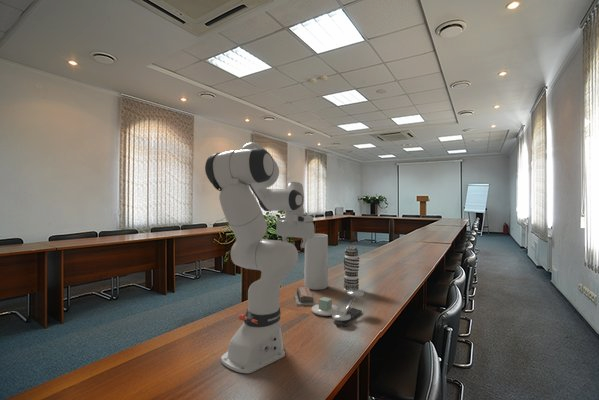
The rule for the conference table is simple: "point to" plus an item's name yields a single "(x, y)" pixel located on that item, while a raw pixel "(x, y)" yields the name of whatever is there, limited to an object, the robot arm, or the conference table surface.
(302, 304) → the packaged product
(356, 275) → the decorative candle
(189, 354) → the conference table surface
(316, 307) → the dish
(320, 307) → the block
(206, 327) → the conference table surface
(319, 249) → the vase
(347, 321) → the balance
